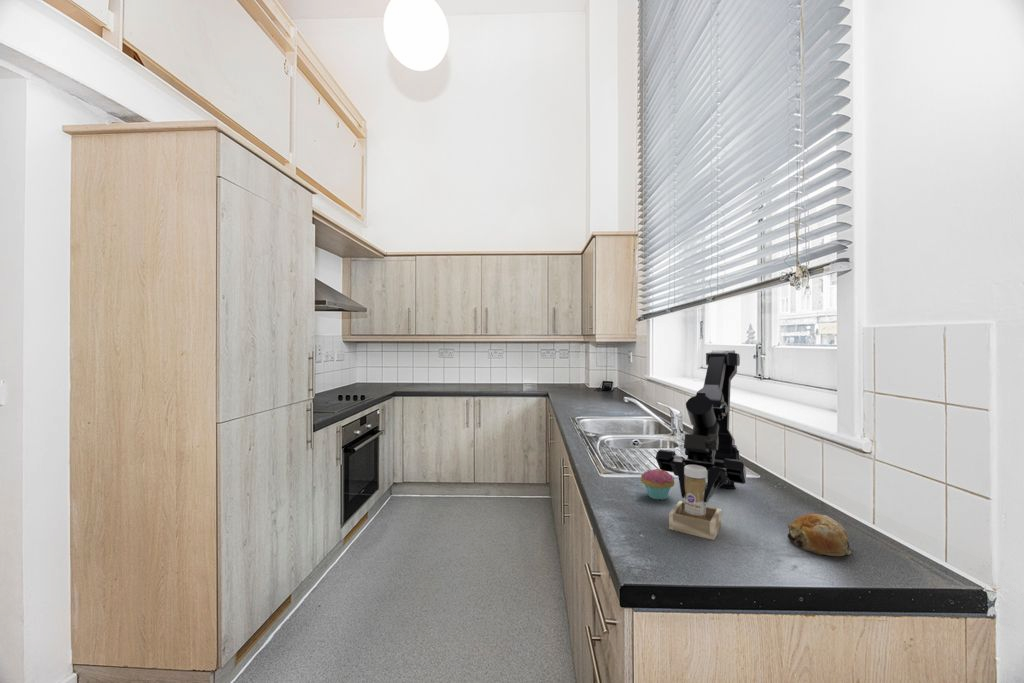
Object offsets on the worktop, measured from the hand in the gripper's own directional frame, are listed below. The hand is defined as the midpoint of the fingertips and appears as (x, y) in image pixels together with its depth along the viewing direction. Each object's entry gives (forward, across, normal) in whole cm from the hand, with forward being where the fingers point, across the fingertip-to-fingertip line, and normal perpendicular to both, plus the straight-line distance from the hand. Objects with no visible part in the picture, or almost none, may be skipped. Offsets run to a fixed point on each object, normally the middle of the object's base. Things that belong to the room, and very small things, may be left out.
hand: (693, 499), depth 94 cm
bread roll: (0, +22, +9) cm, 24 cm away
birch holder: (+4, 0, +6) cm, 7 cm away
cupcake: (-6, -12, +16) cm, 21 cm away
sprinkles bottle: (+4, 0, +6) cm, 7 cm away
